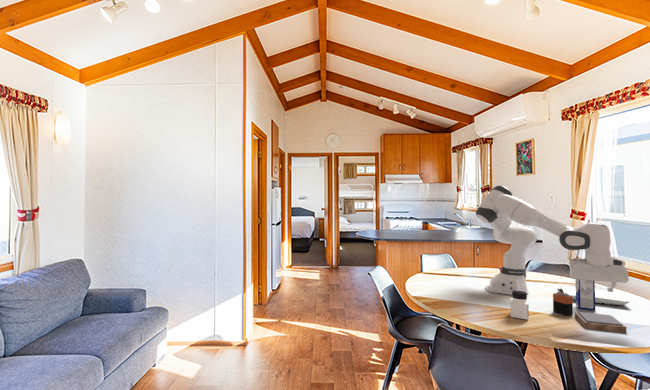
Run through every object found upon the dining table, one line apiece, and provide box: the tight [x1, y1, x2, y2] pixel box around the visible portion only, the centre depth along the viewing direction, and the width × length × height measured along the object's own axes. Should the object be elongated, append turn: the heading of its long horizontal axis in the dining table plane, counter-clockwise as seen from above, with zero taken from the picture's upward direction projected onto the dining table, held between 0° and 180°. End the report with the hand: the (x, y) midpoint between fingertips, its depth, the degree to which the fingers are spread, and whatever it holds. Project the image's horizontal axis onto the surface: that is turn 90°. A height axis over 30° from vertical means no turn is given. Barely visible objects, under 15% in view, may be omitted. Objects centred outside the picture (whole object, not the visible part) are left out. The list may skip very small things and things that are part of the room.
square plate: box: [557, 283, 630, 306], centre depth 188 cm, size 27×27×4 cm
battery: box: [552, 291, 574, 317], centre depth 161 cm, size 4×7×10 cm, turn 21°
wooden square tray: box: [574, 311, 627, 334], centre depth 147 cm, size 14×14×3 cm
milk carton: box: [574, 279, 596, 312], centre depth 169 cm, size 7×7×20 cm
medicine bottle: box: [510, 290, 529, 321], centre depth 158 cm, size 7×7×12 cm
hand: (598, 290), depth 147 cm, fingers open, 7 cm apart
